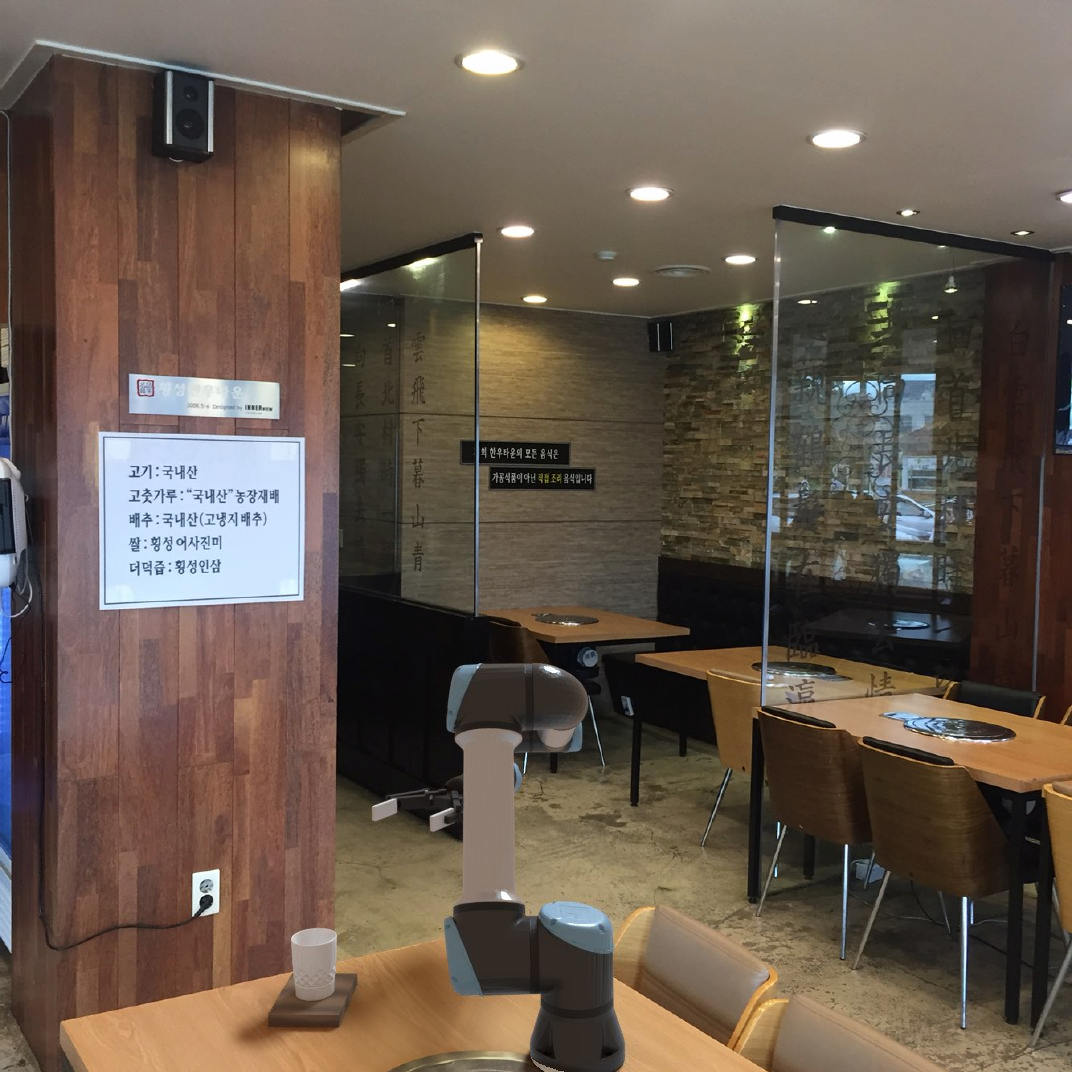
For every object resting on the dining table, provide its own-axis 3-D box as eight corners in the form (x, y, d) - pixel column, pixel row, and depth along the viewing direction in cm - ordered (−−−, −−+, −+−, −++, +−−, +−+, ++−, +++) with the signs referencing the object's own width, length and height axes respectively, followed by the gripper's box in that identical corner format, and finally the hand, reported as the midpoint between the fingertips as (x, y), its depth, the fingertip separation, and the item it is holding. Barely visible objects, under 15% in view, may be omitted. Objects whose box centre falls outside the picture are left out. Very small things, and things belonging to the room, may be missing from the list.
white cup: (327, 1004, 188) (326, 947, 187) (284, 1001, 189) (283, 944, 189) (344, 984, 196) (343, 929, 195) (302, 981, 197) (302, 926, 197)
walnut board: (339, 1026, 184) (338, 1014, 184) (268, 1026, 185) (268, 1014, 185) (357, 984, 200) (357, 973, 200) (292, 983, 201) (292, 973, 201)
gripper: (520, 819, 215) (457, 849, 197) (418, 803, 228) (350, 829, 210) (520, 781, 214) (456, 807, 196) (418, 767, 227) (350, 790, 209)
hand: (401, 818), depth 203 cm, fingers open, 13 cm apart
